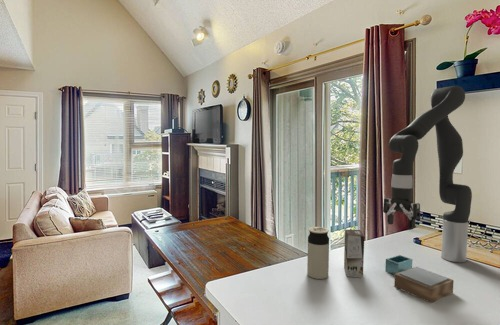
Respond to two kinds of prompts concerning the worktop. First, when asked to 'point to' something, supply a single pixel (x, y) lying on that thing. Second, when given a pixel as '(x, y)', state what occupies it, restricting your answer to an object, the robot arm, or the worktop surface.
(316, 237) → the travel mug
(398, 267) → the box
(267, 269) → the worktop surface
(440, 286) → the stand
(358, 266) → the coffee box
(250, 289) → the worktop surface
